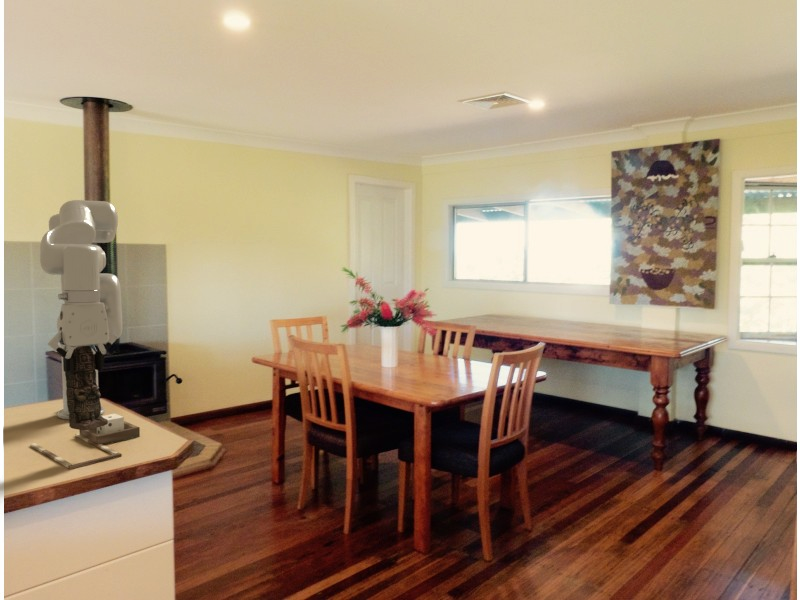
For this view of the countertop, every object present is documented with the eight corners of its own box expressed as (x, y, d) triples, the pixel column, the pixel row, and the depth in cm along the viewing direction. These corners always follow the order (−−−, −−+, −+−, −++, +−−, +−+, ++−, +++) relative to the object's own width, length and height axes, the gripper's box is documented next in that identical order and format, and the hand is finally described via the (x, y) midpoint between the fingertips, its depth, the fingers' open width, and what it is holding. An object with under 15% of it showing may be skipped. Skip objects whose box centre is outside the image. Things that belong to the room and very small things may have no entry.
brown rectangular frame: (30, 445, 158) (30, 443, 158) (79, 435, 168) (79, 433, 168) (70, 469, 143) (70, 466, 143) (121, 456, 152) (121, 453, 152)
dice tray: (79, 436, 166) (79, 427, 166) (120, 428, 175) (120, 419, 174) (98, 446, 159) (98, 436, 159) (139, 436, 168) (139, 427, 167)
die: (96, 435, 166) (96, 417, 166) (115, 431, 170) (114, 413, 169) (105, 439, 163) (104, 420, 162) (124, 435, 167) (123, 416, 166)
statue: (85, 432, 146) (85, 347, 145) (63, 428, 148) (62, 345, 147) (108, 425, 152) (108, 344, 151) (86, 421, 155) (86, 341, 153)
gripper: (49, 300, 138) (52, 380, 140) (125, 296, 151) (127, 369, 153) (36, 298, 143) (39, 375, 145) (111, 294, 156) (113, 365, 158)
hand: (84, 371), depth 149 cm, fingers closed on statue, 6 cm apart
